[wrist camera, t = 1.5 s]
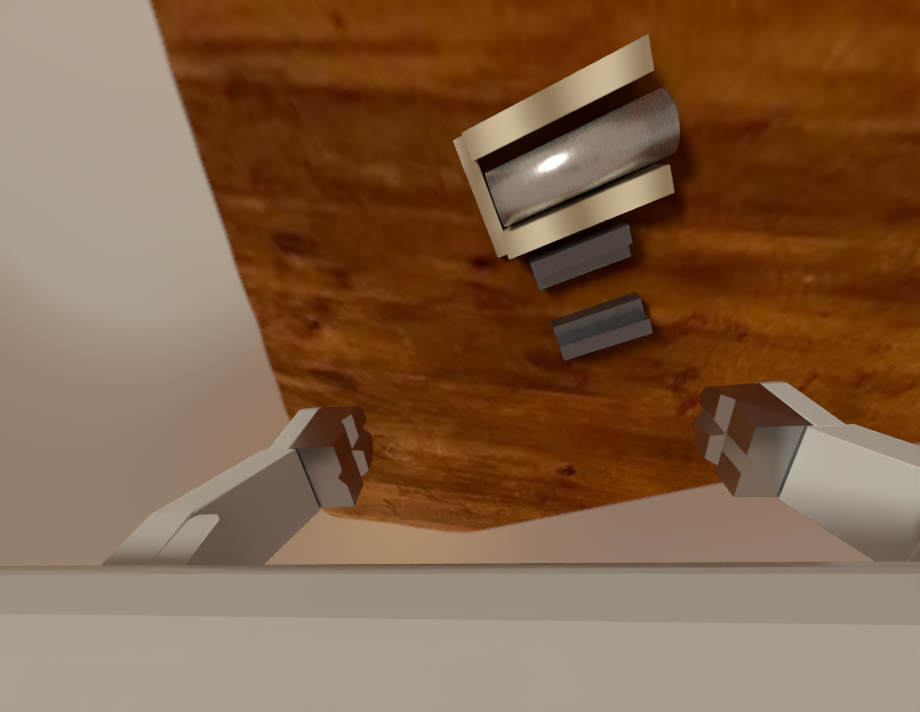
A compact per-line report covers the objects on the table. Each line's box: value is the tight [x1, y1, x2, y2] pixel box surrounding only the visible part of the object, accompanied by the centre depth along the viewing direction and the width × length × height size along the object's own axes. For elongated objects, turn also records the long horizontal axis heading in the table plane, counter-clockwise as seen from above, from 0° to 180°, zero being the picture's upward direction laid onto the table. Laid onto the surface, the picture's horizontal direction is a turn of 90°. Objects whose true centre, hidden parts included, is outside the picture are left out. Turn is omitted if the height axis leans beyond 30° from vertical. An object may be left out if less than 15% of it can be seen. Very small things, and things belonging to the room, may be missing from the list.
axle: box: [485, 88, 680, 227], centre depth 28 cm, size 13×4×4 cm, turn 113°
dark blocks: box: [528, 219, 653, 360], centre depth 33 cm, size 8×10×3 cm
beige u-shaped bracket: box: [453, 35, 674, 259], centre depth 28 cm, size 14×10×3 cm
